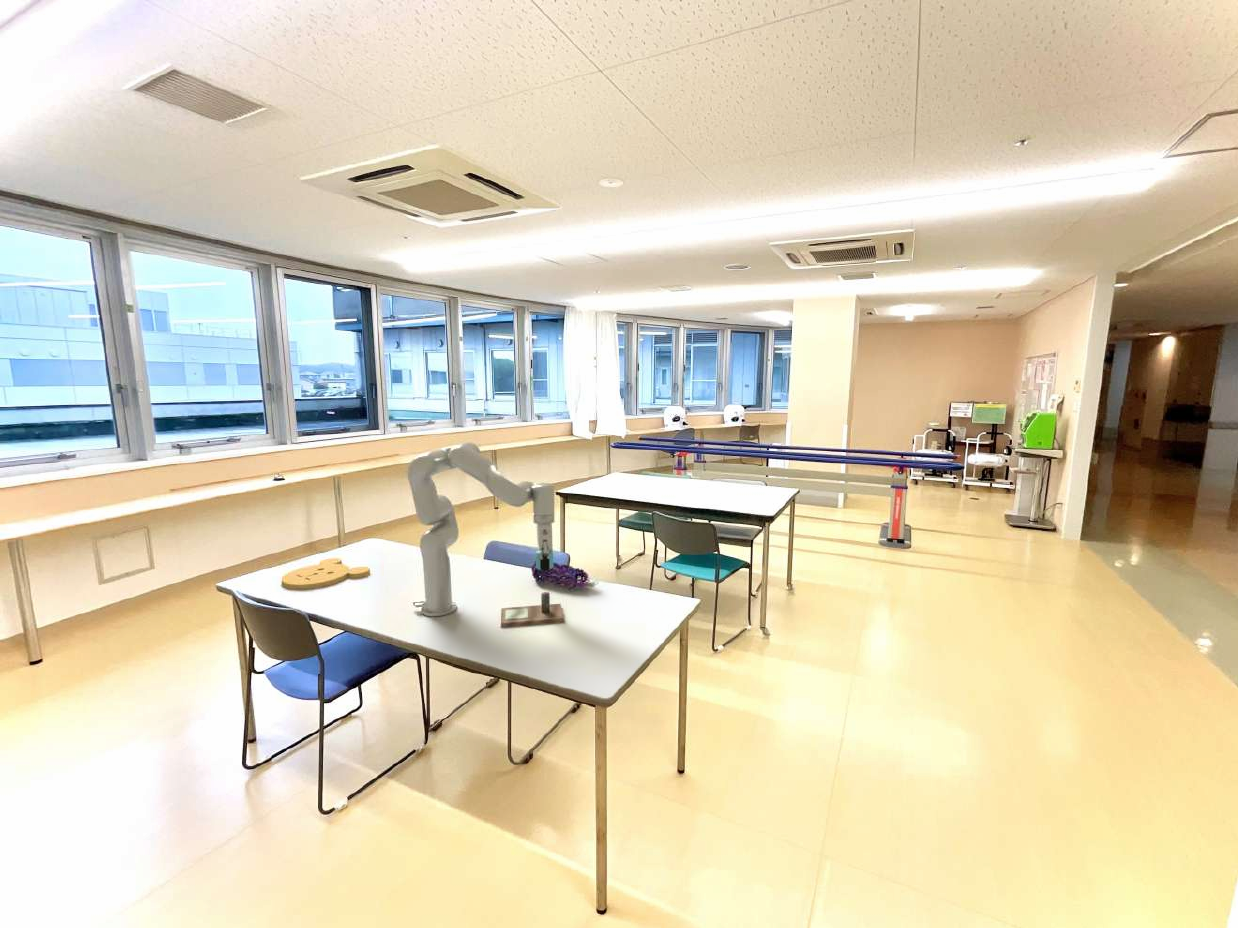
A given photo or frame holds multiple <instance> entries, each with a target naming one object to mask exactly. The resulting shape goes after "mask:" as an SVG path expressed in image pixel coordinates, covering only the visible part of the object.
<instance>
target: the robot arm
mask: <svg viewBox="0 0 1238 928" xmlns="http://www.w3.org/2000/svg"><path fill="white" fill-rule="evenodd" d="M498 468H499V467H498V465H497V463H496V462H495V461H493V460H491V459H489V458H488V457H486V456H484V455H483V454H482V452H481V449H480V448H479V447H478V445H476V444H475V443H473V442H464V443H461V444H457V445H451V446H447V447H442V448H437V449H434V450H430V451H426V452H424V453H420V454H419V455H416V457H414V458H413V459H412V460H411V461H410V463H409V465H408V467H407V471H406V472H407V474H406V475H407V480H408V483H409V487H410V490H411V495H412V500H413V503H414V504H413V505H414V508H415V512H416V513H415V514H416V517H417V519H418V522H419V523H420V524H421V525H423V526H427V527H428V526H432V525H433V526H432V527H431V528H430V529H427V530H426V531H425V532H424V533H423V534H422V535H421V537H420V540H419V549H420V553H421V558H422V567H423V582H424V585H423V586H424V598H422V599H420V600H419V599H415V600H413V601H412V605H413V607H415V608H421V614H422V615H423V616H427V617H442V616H446V615H448V614H449V615H450V614H452V613H453V612H454V611H456V609H457V603H456V602H455V601H453V595H452V594H453V592H452V591H453V590H452V574H451V573H452V571H451V570H452V569H451V568H452V567H451V561H450V556H449V553H448V549H449V548H450V547H451V546H453V545H454V544H456V543H457V541H458V538H459V535H460V534H459V527H458V522H457V518H456V513H455V508H454V504H453V503H452V501H451V500H450V498H448V497H447V496H445V495H443V494H438V490H437V486H436V484H435V482H434V480H433V479H432V477H433V476H434V475H437V474H440V473H442V472H446V471H450V470H454V469H458V470H459V471H461V472H463V473H465V474H467V475H468V476H470V477H471V478H473V479H475V480H477V481H478V482H480V483H481V484H482V485H484V487H485V488H486V489H487V490H488V492H490V494H492V495H493V496H494V497H496V498H497V499H499V500H501V501H502V502H504V503H505V504H507V505H510V506H512V507H514V508H521V507H523V506H524V505H526V504H528V503H530V502H532V514H533V515H532V516H533V517H532V519H533V524H535V525H536V538H537V539H536V540H537V546H538V549H539V551H541V559H540V569H541V570H549V550H551V551H552V550H553V549H554V548H553V524H554V523H555V486H554V485H553V483H548V482H538V483H537V482H532V481H528V480H525V481H523V480H522V481H520V482H518V483H516V484H515V483H514V482H512V481H511V480H509V479H508V478H506V477H504V476H503V475H502V474H501V473H500V471H499V470H498ZM542 549H543V550H542ZM542 552H543V554H542Z"/></svg>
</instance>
